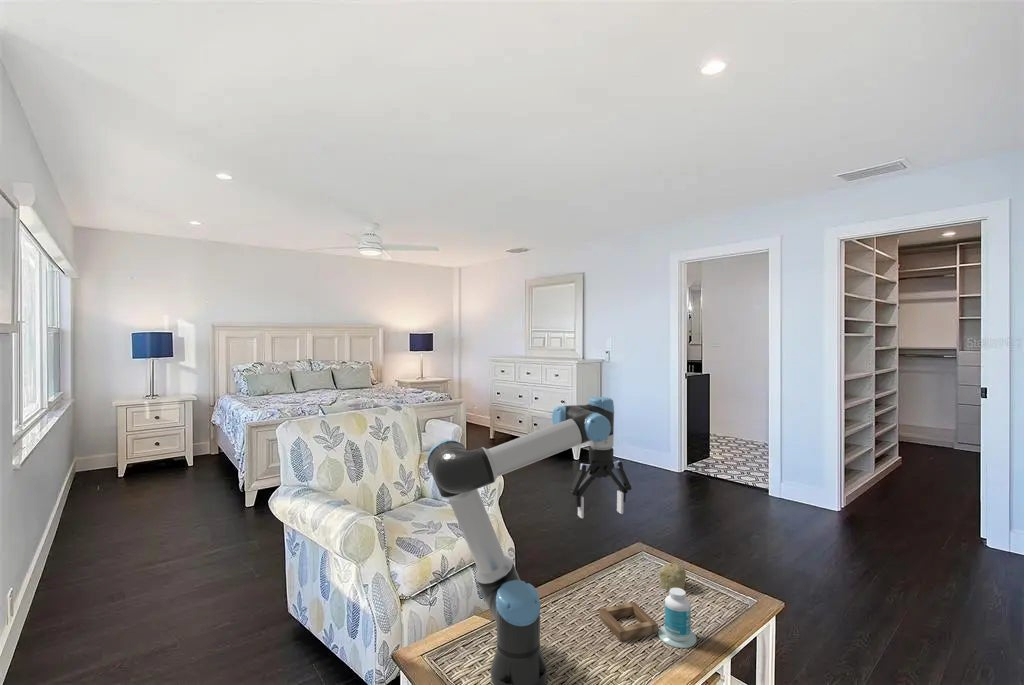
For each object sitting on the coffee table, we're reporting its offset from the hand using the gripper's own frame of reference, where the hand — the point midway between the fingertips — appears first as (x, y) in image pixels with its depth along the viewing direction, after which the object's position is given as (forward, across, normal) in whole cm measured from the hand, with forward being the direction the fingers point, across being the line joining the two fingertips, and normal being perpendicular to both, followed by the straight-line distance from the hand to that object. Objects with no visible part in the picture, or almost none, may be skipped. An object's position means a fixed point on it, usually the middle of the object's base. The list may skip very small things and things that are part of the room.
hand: (600, 514), depth 157 cm
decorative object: (+35, +36, +14) cm, 52 cm away
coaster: (+35, +20, -12) cm, 42 cm away
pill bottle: (+35, +20, -12) cm, 42 cm away
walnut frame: (+35, +9, -2) cm, 36 cm away
